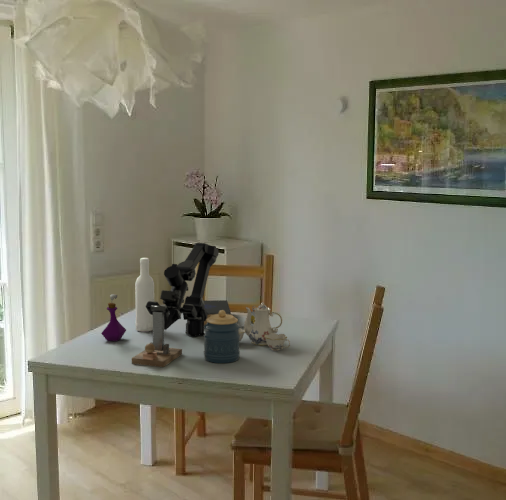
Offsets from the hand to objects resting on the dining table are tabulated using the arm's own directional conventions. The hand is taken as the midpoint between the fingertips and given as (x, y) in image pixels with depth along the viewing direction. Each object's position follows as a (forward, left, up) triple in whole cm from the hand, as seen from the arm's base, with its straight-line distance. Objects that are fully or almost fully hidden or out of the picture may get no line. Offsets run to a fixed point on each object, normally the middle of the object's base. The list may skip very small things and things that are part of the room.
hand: (164, 329), depth 240 cm
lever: (+4, +4, -7) cm, 8 cm away
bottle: (-5, -37, -9) cm, 38 cm away
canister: (-17, +13, -10) cm, 23 cm away
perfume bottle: (+11, -27, -9) cm, 31 cm away
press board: (+4, +4, -9) cm, 11 cm away
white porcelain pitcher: (-44, -18, -10) cm, 48 cm away
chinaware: (-37, +2, -10) cm, 39 cm away
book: (-36, -40, -10) cm, 55 cm away
